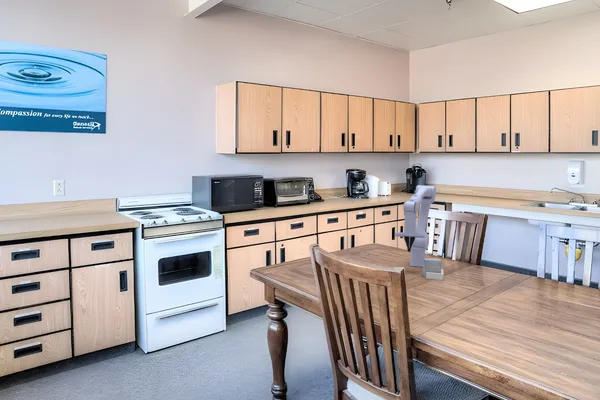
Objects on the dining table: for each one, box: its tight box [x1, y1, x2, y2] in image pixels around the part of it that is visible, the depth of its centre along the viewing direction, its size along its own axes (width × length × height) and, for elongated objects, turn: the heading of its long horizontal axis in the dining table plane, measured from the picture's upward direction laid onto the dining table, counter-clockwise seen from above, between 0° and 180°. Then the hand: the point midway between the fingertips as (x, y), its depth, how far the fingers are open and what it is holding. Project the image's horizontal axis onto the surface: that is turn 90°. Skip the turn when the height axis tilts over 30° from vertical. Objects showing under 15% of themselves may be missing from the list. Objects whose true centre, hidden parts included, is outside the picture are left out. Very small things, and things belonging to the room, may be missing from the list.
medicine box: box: [422, 257, 442, 279], centre depth 204 cm, size 8×4×9 cm, turn 84°
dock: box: [425, 268, 445, 281], centre depth 204 cm, size 9×8×3 cm
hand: (409, 251), depth 212 cm, fingers closed
